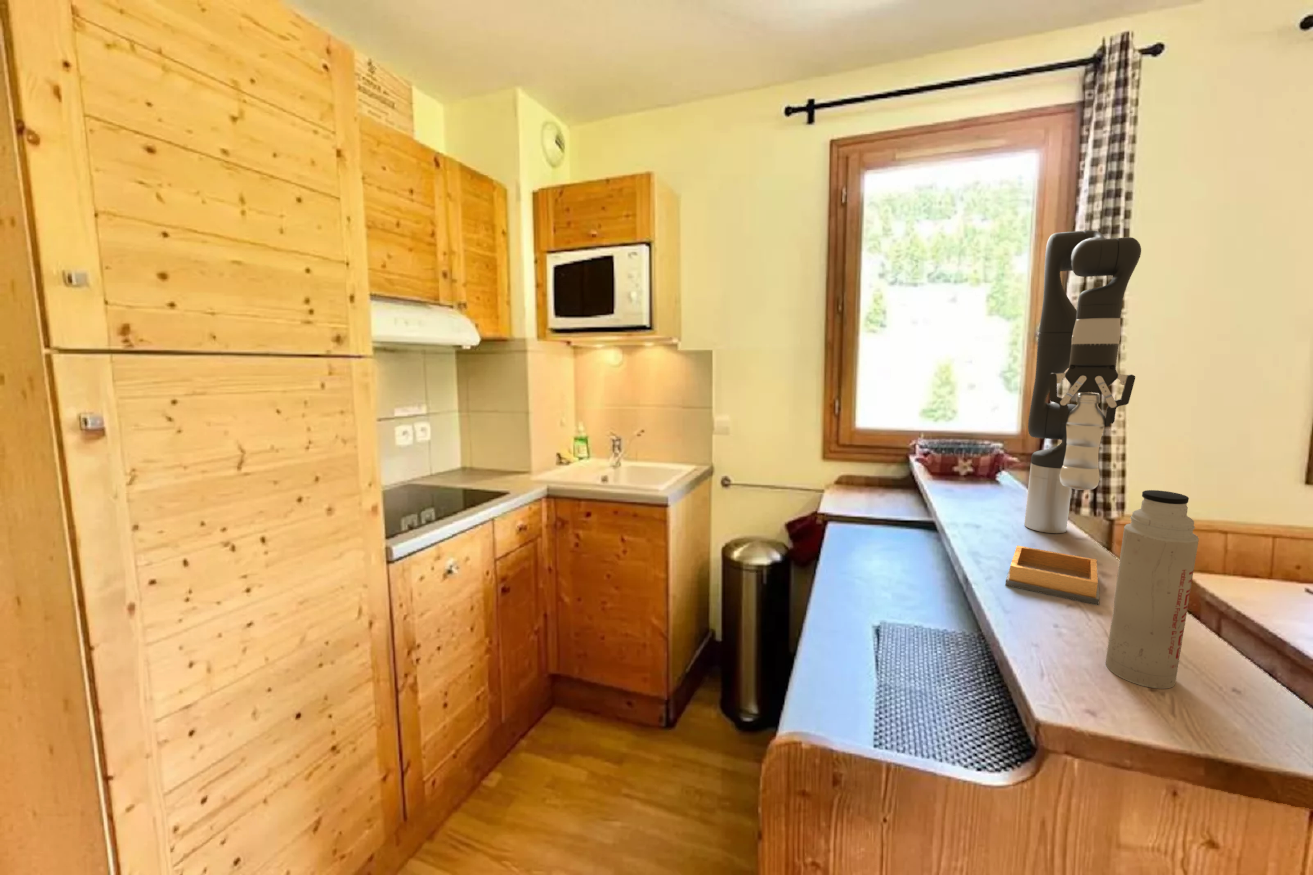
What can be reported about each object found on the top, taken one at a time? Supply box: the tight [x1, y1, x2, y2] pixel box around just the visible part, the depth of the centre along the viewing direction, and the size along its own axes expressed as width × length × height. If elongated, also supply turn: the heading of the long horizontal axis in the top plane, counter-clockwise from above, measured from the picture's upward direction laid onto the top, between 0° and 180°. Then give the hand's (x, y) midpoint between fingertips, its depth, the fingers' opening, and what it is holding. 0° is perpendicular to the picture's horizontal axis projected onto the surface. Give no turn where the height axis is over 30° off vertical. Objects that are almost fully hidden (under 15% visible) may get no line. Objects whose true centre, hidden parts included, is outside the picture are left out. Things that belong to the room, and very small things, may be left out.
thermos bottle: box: [1105, 489, 1200, 690], centre depth 81 cm, size 8×8×28 cm
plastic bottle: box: [1060, 392, 1106, 491], centre depth 114 cm, size 6×7×20 cm
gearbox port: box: [1005, 545, 1100, 606], centre depth 114 cm, size 15×15×4 cm
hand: (1085, 424), depth 114 cm, fingers closed on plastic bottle, 6 cm apart
